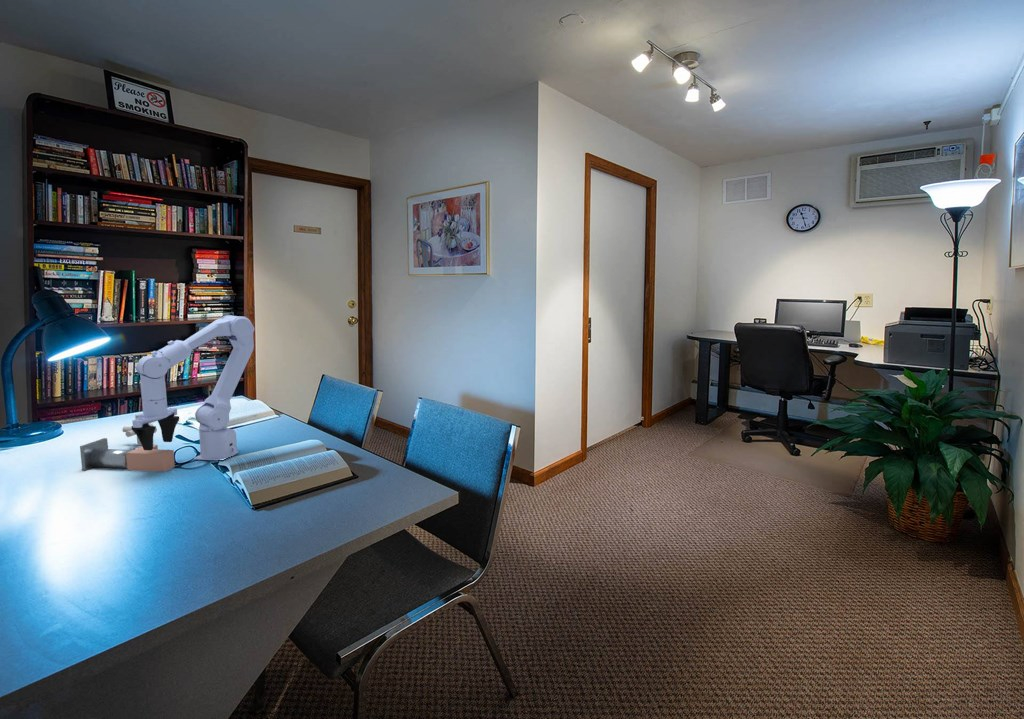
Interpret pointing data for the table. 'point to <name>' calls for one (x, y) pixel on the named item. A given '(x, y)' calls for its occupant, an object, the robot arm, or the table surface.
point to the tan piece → (150, 459)
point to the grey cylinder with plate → (102, 455)
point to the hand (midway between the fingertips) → (158, 445)
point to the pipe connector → (131, 433)
